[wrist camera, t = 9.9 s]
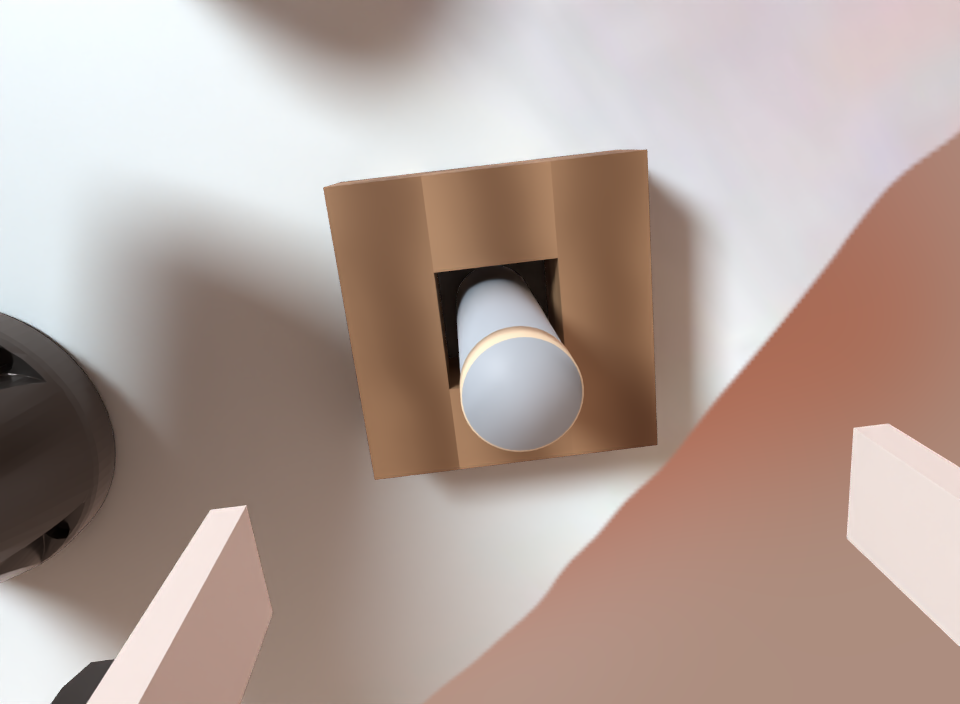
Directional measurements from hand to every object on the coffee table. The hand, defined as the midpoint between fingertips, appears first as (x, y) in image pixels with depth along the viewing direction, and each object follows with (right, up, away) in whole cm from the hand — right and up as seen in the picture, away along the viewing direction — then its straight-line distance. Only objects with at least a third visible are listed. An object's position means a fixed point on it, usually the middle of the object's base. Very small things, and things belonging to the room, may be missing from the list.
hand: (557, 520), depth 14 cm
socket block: (-1, +6, +21) cm, 22 cm away
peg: (-1, +6, +21) cm, 22 cm away
